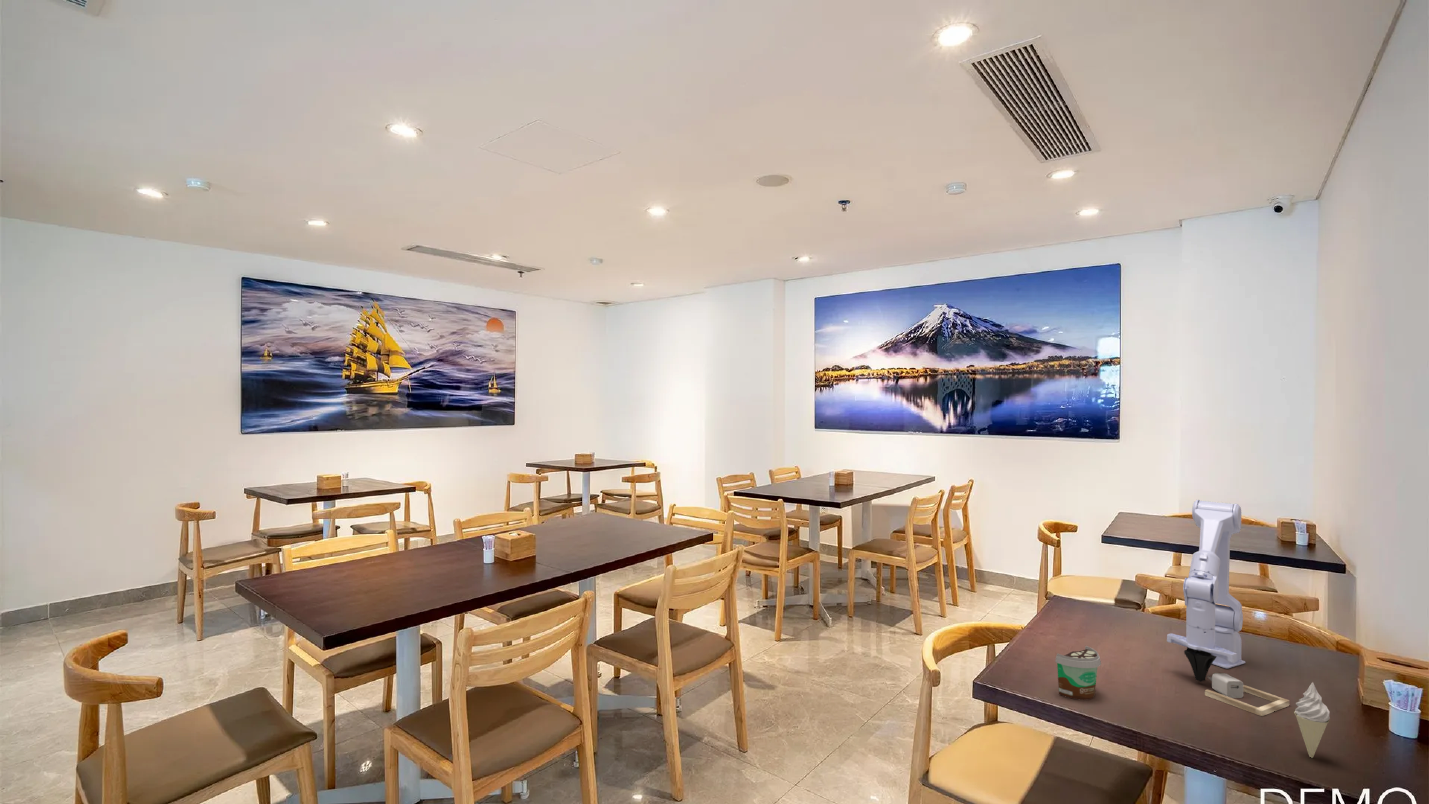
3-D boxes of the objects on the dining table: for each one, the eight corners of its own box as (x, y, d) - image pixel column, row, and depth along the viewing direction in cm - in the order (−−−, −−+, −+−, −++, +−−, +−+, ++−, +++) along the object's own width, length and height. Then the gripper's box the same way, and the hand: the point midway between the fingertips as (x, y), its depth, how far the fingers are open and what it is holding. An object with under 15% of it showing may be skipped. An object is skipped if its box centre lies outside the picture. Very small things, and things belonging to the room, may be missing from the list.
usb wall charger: (1226, 697, 149) (1226, 681, 149) (1203, 684, 156) (1203, 668, 156) (1243, 697, 149) (1243, 681, 149) (1219, 685, 156) (1219, 668, 156)
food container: (1080, 706, 143) (1080, 663, 143) (1055, 695, 149) (1055, 653, 149) (1112, 695, 149) (1112, 654, 149) (1086, 685, 154) (1086, 645, 155)
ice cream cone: (1332, 767, 120) (1333, 689, 120) (1297, 759, 123) (1297, 682, 123) (1324, 755, 124) (1325, 679, 124) (1290, 747, 127) (1291, 673, 127)
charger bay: (1232, 686, 155) (1232, 681, 155) (1289, 705, 145) (1289, 700, 145) (1204, 695, 150) (1204, 690, 150) (1261, 716, 140) (1261, 711, 140)
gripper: (1160, 618, 161) (1159, 671, 161) (1225, 638, 148) (1225, 695, 148) (1176, 615, 164) (1175, 667, 164) (1241, 633, 151) (1241, 689, 151)
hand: (1200, 680), depth 156 cm, fingers closed
